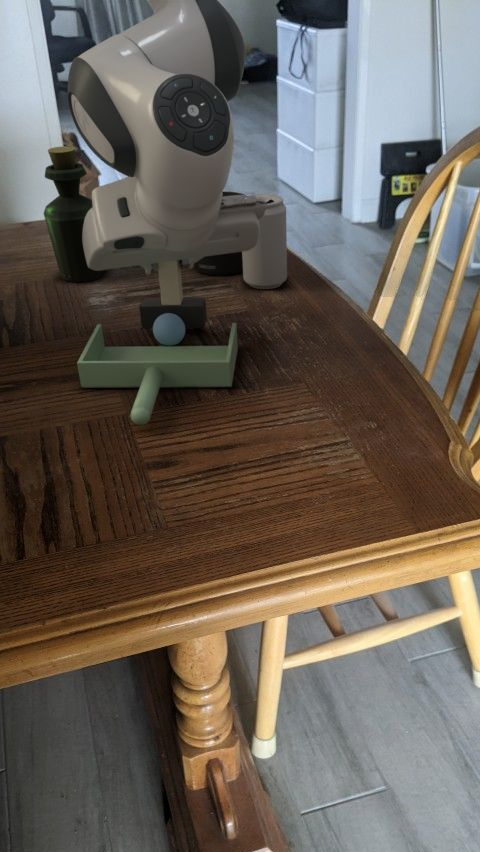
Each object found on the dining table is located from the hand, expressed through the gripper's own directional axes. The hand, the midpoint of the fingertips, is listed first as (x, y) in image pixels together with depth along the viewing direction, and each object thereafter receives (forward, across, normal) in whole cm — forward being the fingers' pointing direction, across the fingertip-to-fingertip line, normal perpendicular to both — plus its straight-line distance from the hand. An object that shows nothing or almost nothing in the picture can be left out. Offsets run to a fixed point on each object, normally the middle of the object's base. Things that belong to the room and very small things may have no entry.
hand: (167, 266), depth 97 cm
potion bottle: (+24, +9, -11) cm, 28 cm away
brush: (+5, 0, +6) cm, 7 cm away
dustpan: (-5, +5, +17) cm, 18 cm away
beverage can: (+14, -16, -2) cm, 21 cm away
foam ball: (0, +2, +7) cm, 8 cm away
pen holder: (+20, -12, -8) cm, 25 cm away
